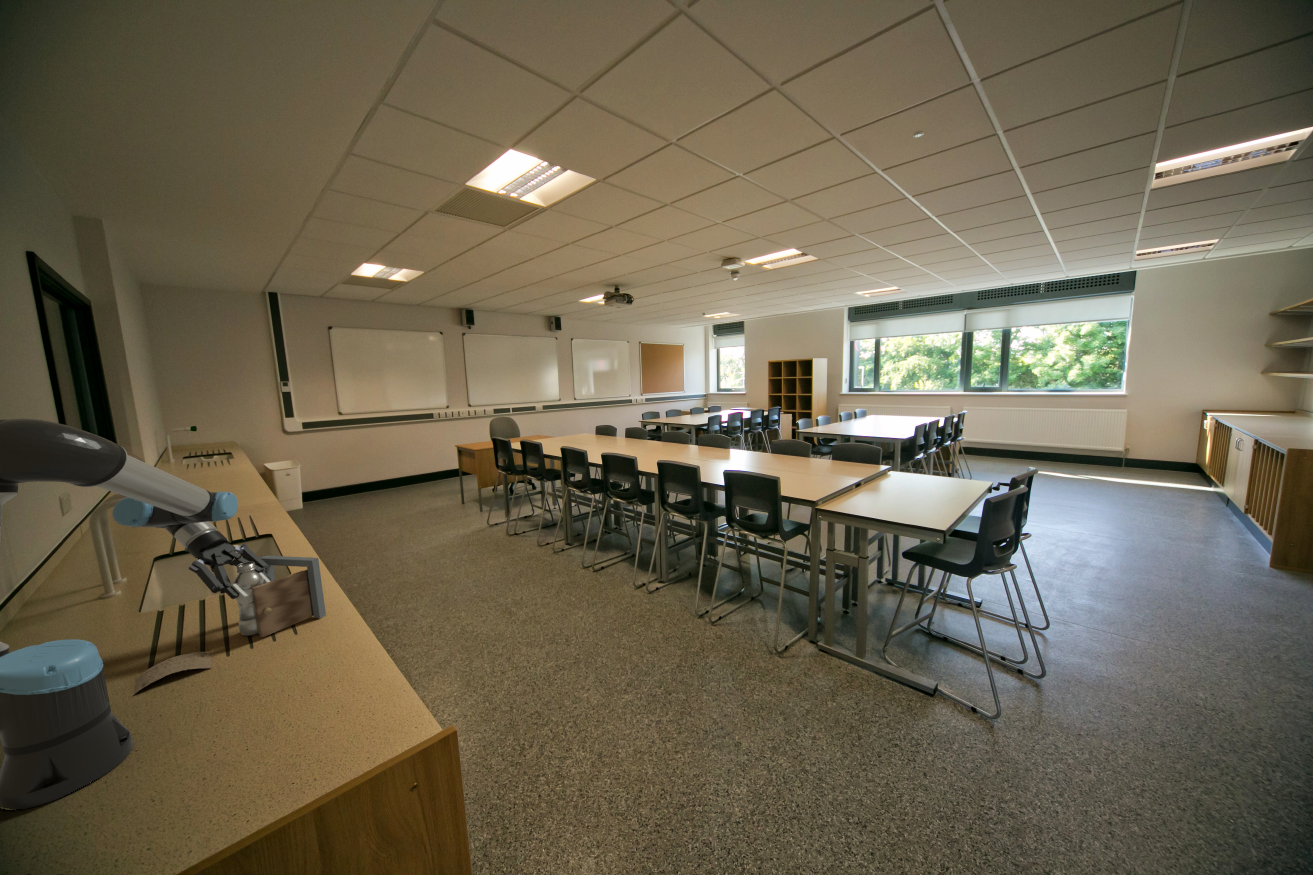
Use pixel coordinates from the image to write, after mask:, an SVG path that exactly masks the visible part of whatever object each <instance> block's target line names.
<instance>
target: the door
mask: <svg viewBox="0 0 1313 875" xmlns="http://www.w3.org/2000/svg"><path fill="white" fill-rule="evenodd" d="M252 593H253V599H254V605H255V612H256V618H257V624H258V631H259V633H258V635H259V637H260V638H264V637H268V636H269V635H272V634H273V633H277V632H278V631H281V630H283V629H286V628H288V627H291V626H294V625H295V624H297V623H300V622H303V621H305V620H307V619H310V618H312V617H314V613H313V606H312V599H311V592H310V585H309V577H308V570H307V569H305V570H300V571H297V572H294V573H292V574H289V575H286V576H283V577H280V578H277V579H276V578H275V580H273V581H270V582H267V583H264V584H261V585H258V586H255V587H253V588H252Z"/></svg>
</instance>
